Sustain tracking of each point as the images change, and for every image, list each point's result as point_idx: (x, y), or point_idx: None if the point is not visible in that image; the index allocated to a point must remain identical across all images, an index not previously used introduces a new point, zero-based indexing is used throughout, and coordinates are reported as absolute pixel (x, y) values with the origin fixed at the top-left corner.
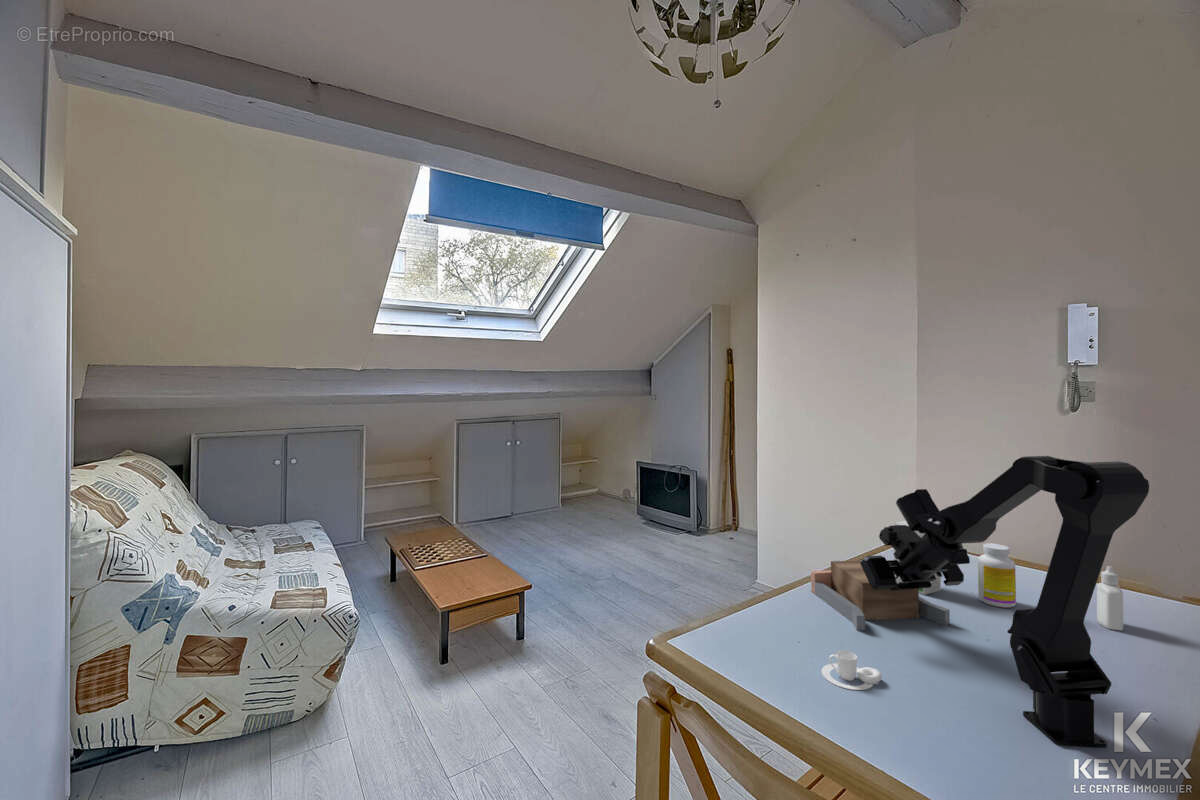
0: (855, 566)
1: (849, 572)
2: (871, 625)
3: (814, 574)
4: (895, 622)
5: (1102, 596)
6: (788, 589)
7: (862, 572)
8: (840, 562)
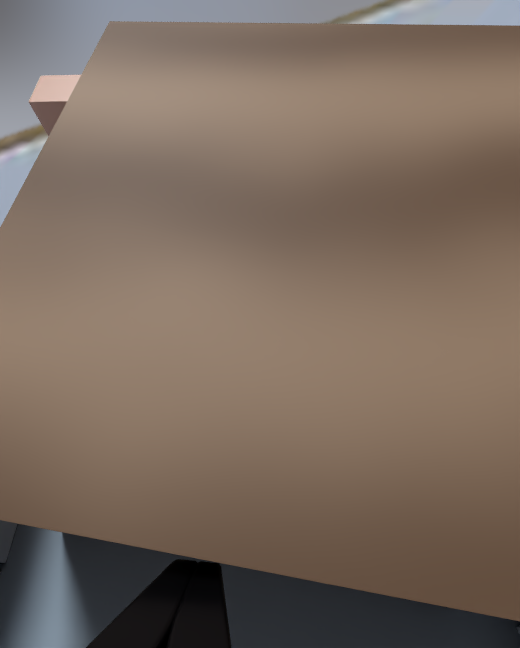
0: (202, 112)
1: (27, 214)
2: (37, 630)
3: (32, 107)
4: (233, 629)
5: None
6: (15, 141)
7: (141, 230)
8: (155, 43)
